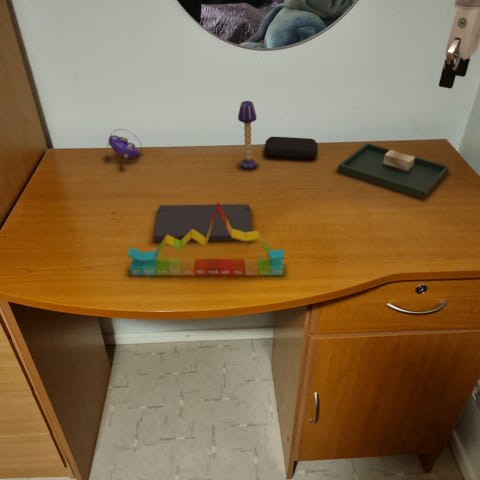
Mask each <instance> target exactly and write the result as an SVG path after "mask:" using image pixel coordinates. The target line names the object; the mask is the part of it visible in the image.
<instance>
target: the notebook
mask: <svg viewBox="0 0 480 480" xmlns="http://www.w3.org/2000/svg"><path fill="white" fill-rule="evenodd" d="M216 205H217V204H161V205H159V206H158V209H157V213H156V215H157V216H156V220H155V226H154V231H153V243H162V241H163V240H164V238H165V236H166V235H169V236H172V237H174V238H176V239H178V240H180V241H181V240H182V239H183V238H184V237H185V236H186V235H187V234H188V233H189V232H190V231H191V230H193V229H194V230H195V231H197V232H198V233H200V234H201V235H203V236H204V237H206V238H207V234H208V231H209V228H210V225H211V222H212V218H213V215H214V212H215V209H216ZM220 206H221V210H223V212H224V214H225V216H226V218H227V220H228V222H229V224H230V226H231V227H232V229H235V230H239V231H242V232H251V231H253V230H252V220H251V206H250V204H248V203H238V204H237V203H235V204H233V203H232V204H231V203H230V204H227V203H226V204H220ZM174 241H175V240H174ZM189 242H190V243H191V242H197V241H195V240H194V239H192V238H191V239H190V240H189V241H188V242H187V243H189ZM208 242H242V241H241V240H237V239H234V238H232V237H231V235H230V233H229V231H228V230H227V228H226V226H225V224H224V222H223V220H222V218H221V216H220V214H219V212H218V207H217V213H216V217H215V220H214V223H213V226H212V229H211V232H210V236H209V239H208ZM197 243H198V242H197Z"/></svg>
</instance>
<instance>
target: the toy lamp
mask: <svg viewBox="0 0 480 480" xmlns="http://www.w3.org/2000/svg"><path fill="white" fill-rule="evenodd" d="M257 118H258V117H257V113H256V109H255V105H254V103H253V101H251V100H244V101H242V102H241V103H240V106H239V110H238V115H237V119H238V121H239V122H241V123H243V125H244V127H243V130H244V133H243V136H244V141H243V142H244V154H245V155H244V159H243V160H241V161H240V168H241V169H242V170H246V171H251V170H254V169H256V168H257V163H256V161H255V160H254V159H253V157H252V151H253V150H252V132H251V131H252V126H251V125H252V123H253V122H255V121H256V120H257Z"/></svg>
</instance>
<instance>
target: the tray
mask: <svg viewBox="0 0 480 480" xmlns="http://www.w3.org/2000/svg"><path fill="white" fill-rule="evenodd" d="M390 150H393V151H396V152H398V151H397V150H394V149H390V148H387V147H383V146H380V145H376V144H374V143H369V142H366V143H364V145H362V146H361V147H359V148H358V149H357V150H356V151H354V152H353V153H352V154H351V155H349V156H348V157H347V158H346V159H344V160H343V161H342V162H341V163H339V164H338V166H337V167H338V168H337V173H339V174H342V175H345V176H348V177H352V178H354V179H358V180H361V181H363V182H367V183H370V184H373V185H376V186H380V187H383V188H385V189H388V190H391V191H395V192H398V193H401V194H404V195H407V196H410V197H413V198H416V199H419V200H423V201H424V200H425V199H426V198H427V197H428V195H430V193H431V192H432V191H433V190H434V189H435V188H436V187H437V186H438V185H439V183H440V182H441V181H442V180H443V179H444V178H445V177H446V176H447V175H448V174H449V171H450V166H449V165H446V164H442V163H439V162H436V161H432V160H429V159H425V158H422V157H419V156H415V155H413V156H414V157H415V161H414V164H413V168H412V170H411V171H410V172H409V173H408V174H404V173H400V172H397V171H394V170H391V169H387V168H384V167H382V165H383V161H384V156H385V154H386V153H387V152H388V151H390ZM399 152H400V151H399ZM400 153H403V154H405V153H404V152H400ZM406 154H407V155H410V156H412V155H411V154H408V153H406Z"/></svg>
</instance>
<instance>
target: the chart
mask: <svg viewBox="0 0 480 480" xmlns="http://www.w3.org/2000/svg"><path fill="white" fill-rule="evenodd" d="M215 205H216V209H215V212H214V215H213V218H212V222H211V225H210V228H209V231H208V234H207V238H206V237H204V236H203V235H201V234H200V233H198V232H197V231H195V230H194V229H193V230H191V231H190V232H189V233H188V234H187V235H186V236H185V237H184V238H183V239H182V240H181V241H180V240H178V239H176V238H174V237H172V236H169V235H166V236H165V238H164V240H163V241H162V242H160V244H159V246H158V247H157V249H155V250H152V251H145V252H143V251H141V250H138V249H136V248H133V247H131V246H130V247H129V250H128V254H127V257H128V258H131V262H130V267H129V270H130V275H131V276H283V275H284V259H285V251H284V249H283V248H282V249H273V250H271V249H270V248H269V247H268V245H267V243H266V241H265V240H264V237H262V235H261V233H260V231H259V230H252V231H251V232H242V231H239V230H235V229H232V227H231V226H230V224H229V222H228V220H227V218H226V216H225V214H224V212H223V210H221V206H220V205H221V204H220V203H219V201H217V202H216V204H215ZM217 207H218V212H219V214H220V216H221V218H222V220H223V222H224V224H225V226H226V228H227V230H228V231H229V233H230V235H231V237H232V238H234V239H237V240H241V241H240V242H244V243H248V242H254V241H259V243H260V245H261V246H262V248H263V250H264V252H265V253H266V255H267V256H268V258H158V256H159V255H160V253H161V251H162V250H163V249H164V247H165V246H166V245H167V246H169V247H172V248H174V249H176V250H178V251H180V250H181V249H182V248H184V247H185V245H186V244H188V243H189V242H188V241H189V240H190V239H191V238H192V239H194V240H195V241H197V243H199V244H200V245H201V246H202V247H204V248H206V247H207V245H208V242H209V241H208V239H209V236H210V232H211V229H212V226H213V223H214V220H215V217H216V213H217ZM174 240H175V241H174Z"/></svg>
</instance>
